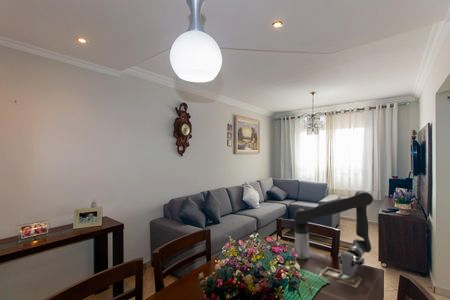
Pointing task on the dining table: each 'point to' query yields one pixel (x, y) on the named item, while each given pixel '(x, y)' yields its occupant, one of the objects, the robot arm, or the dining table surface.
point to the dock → (340, 277)
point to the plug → (347, 263)
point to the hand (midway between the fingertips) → (346, 263)
